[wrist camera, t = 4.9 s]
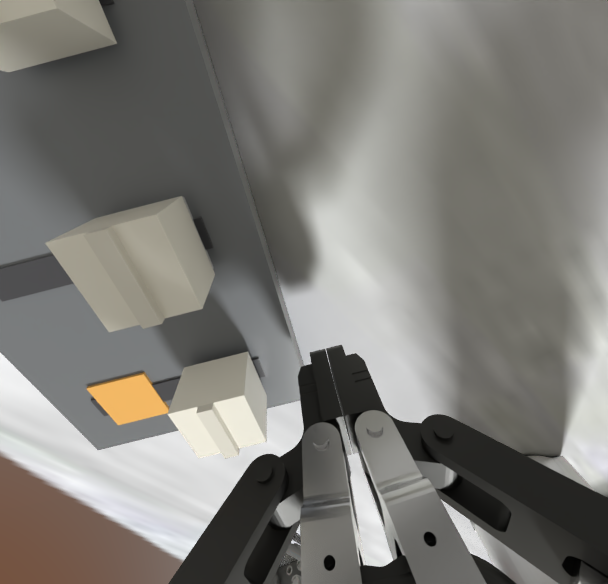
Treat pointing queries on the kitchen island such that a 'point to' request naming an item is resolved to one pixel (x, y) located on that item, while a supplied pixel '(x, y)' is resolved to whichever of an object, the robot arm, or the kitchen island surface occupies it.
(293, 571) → the walkie-talkie
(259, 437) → the tab back
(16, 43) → the tab front
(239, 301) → the switch panel
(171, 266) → the tab middle
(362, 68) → the kitchen island surface
